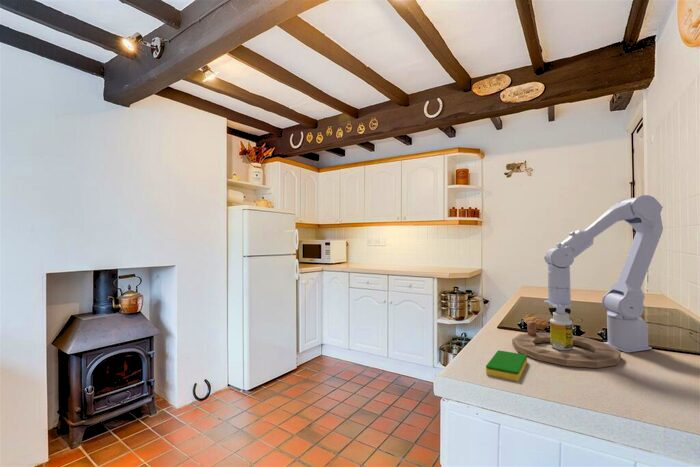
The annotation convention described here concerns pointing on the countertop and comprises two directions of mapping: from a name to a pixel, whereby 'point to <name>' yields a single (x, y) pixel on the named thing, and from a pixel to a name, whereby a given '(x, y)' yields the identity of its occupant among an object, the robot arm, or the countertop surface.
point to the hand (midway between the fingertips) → (559, 332)
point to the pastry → (537, 322)
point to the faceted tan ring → (599, 358)
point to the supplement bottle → (561, 331)
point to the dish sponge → (507, 365)
